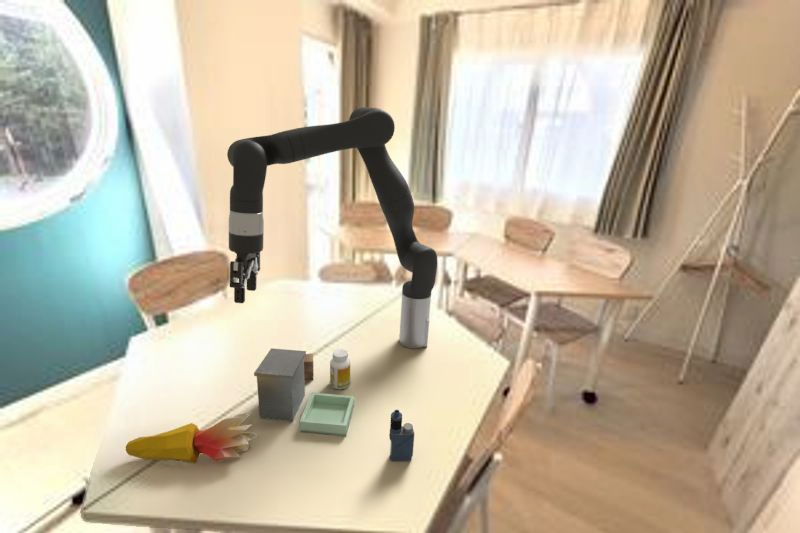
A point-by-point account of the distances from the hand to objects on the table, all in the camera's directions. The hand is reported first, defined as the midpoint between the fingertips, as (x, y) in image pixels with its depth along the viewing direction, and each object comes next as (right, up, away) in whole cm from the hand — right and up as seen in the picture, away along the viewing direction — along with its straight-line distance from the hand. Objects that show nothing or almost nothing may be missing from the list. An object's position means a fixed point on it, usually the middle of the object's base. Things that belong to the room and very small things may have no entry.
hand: (245, 296), depth 99 cm
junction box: (+8, -28, +3) cm, 29 cm away
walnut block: (+11, -23, +15) cm, 30 cm away
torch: (-6, -33, -12) cm, 35 cm away
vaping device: (+37, -34, -11) cm, 52 cm away
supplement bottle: (+21, -25, +13) cm, 35 cm away
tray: (+20, -29, 0) cm, 36 cm away
